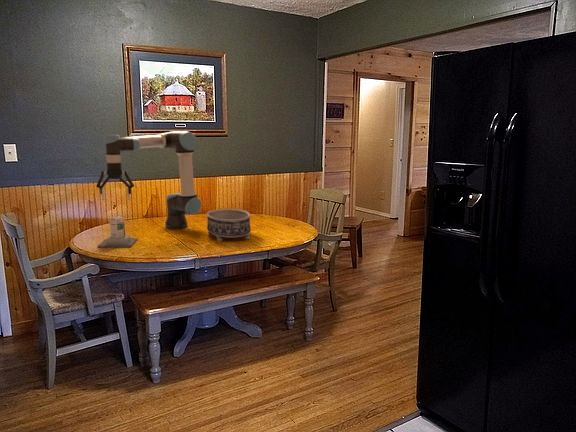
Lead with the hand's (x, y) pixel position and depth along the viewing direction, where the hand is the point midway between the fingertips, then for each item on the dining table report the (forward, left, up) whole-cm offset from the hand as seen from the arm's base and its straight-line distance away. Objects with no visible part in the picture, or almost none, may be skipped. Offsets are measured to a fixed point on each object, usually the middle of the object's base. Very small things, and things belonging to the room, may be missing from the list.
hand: (116, 199), depth 253 cm
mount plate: (0, 0, -26) cm, 26 cm away
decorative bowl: (-63, -16, -26) cm, 70 cm away
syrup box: (0, 0, -25) cm, 25 cm away
